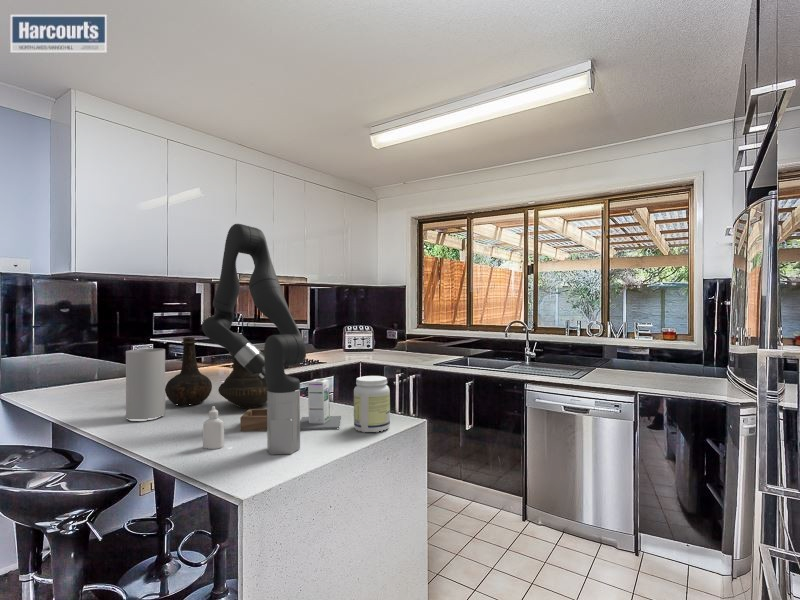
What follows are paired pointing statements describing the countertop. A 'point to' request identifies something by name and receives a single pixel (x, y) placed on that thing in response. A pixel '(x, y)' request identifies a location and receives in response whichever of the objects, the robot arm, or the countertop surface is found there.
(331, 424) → the grey flat block
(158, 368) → the cylinder vase
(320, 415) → the syrup box
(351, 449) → the countertop surface
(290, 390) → the robot arm
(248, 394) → the ceramic pot
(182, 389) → the brown bulbous vase
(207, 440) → the eye dropper bottle
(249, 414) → the walnut collar
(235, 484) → the countertop surface
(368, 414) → the supplement tub
